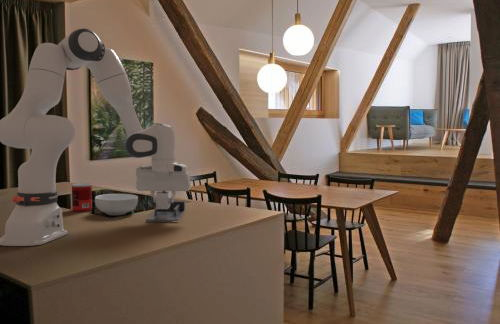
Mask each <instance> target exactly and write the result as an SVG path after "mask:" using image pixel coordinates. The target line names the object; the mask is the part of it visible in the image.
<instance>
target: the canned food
mask: <svg viewBox="0 0 500 324" xmlns="http://www.w3.org/2000/svg"><path fill="white" fill-rule="evenodd" d="M71 209H72V212H74V213H75V212H77V213H86V212H90V211H92V209H93V186H92V183H89V182H80V183H79V182H78V183H73V184H71Z"/></svg>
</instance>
